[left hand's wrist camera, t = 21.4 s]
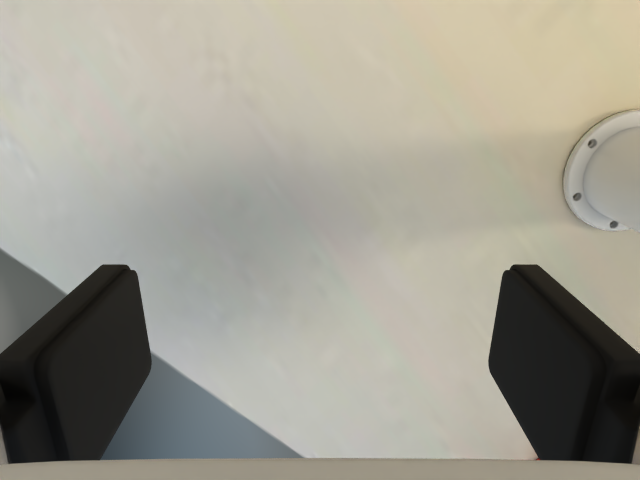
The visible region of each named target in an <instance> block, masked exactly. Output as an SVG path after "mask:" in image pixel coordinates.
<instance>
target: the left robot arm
mask: <svg viewBox="0 0 640 480" xmlns="http://www.w3.org/2000/svg"><path fill="white" fill-rule="evenodd" d="M588 142H589V144H588ZM563 188H564V194H565V198H566V201H567V203H568V205H569V207H570V209H571V210H572V212H573V213H574V214H575V215H576V216H577V217H578V218H579V219H581V220H582V221H583V222H585V223H587V224H589V225H591V226H592V227H595V228H598V229H601V230H606V231H624V230H629V229H632V230H634V231H636V232H638V233H640V109H639V110H628V111H625V112H621V113H617V114H615V115H613V116H610V117H608V118H606V119H604V120H603V121H601V122H600V123H598V124H597V125H595V126H594V127H593V128H591V129H590V130H589V131H588V132H587V133H586V134H585V135H584V136H583V137H582V138H581V140H580V141H579V142H578V143H577V145H576V146H575V148H574V150H573V151H572V153H571V155H570V157H569V159H568V162H567V165H566V167H565V172H564V178H563ZM574 194H575V195H574ZM488 362H489V370H490V373H491V375H492V377H493V378H494V380H495V382H496V384H497V385H498V387H499V389H500V391H501V392H502V394H503V396H504V398H505V399H506V401H507V403H508V405H509V406H510V408H511V410H512V412H513V413H514V415H515V417H516V419H517V420H518V422H519V424H520V426H521V427H522V429H523V431H524V433H525V434H526V436H527V438H528V440H529V441H530V443H531V445H532V447H533V449H534V450H535V452H536V454H537V456H538V457H539V459H540V460H497V459H371V458H273V459H272V458H271V459H270V458H269V459H144V460H100V459H101V457H102V456H103V454H104V452H105V450H106V448H107V447H108V445H109V443H110V441H111V440H112V438H113V436H114V434H115V433H116V431H117V429H118V427H119V426H120V424H121V422H122V420H123V419H124V417H125V415H126V413H127V412H128V410H129V408H130V406H131V405H132V403H133V401H134V399H135V398H136V396H137V394H138V392H139V391H140V389H141V387H142V385H143V384H144V382H145V380H146V378H147V377H148V375H149V373H150V370H151V353H150V347H149V341H148V335H147V329H146V323H145V317H144V311H143V305H142V299H141V293H140V287H139V281H138V276H137V273H136V271H135V270H130V268H129V266H127V265H102V266H100V267H99V268H98V269H97V270H96V271H94V272H93V273H92V274H91V275H90V276H89V277H88V278H87V279H85V280H84V281H83V282H82V283H81V284H80V285H79V286H77V287H76V288H75V289H74V290H73V291H72V292H71V293H69V294H68V295H67V296H66V297H65V298H64V299H63V300H61V301H60V302H59V303H58V304H57V305H56V306H55V307H53V308H52V309H51V310H50V311H49V312H48V313H47V314H45V315H44V316H43V317H42V318H41V319H40V320H39V321H37V322H36V323H35V324H34V325H33V326H32V327H31V328H29V329H28V330H27V331H26V332H25V333H24V334H23V335H21V336H20V337H19V338H18V339H17V340H16V341H15V342H13V343H12V344H11V345H10V346H9V347H8V348H7V349H6V350H4V351H3V352H2V353H1V354H0V480H640V354H639V353H638V352H637V351H636V350H635V349H633V348H632V347H631V346H630V345H629V344H628V343H627V342H625V341H624V340H623V339H622V338H621V337H620V336H619V335H617V334H616V333H615V332H614V331H613V330H612V329H611V328H609V327H608V326H607V325H606V324H605V323H604V322H603V321H601V320H600V319H599V318H598V317H597V316H596V315H595V314H593V313H592V312H591V311H590V310H589V309H588V308H587V307H585V306H584V305H583V304H582V303H581V302H580V301H579V300H577V299H576V298H575V297H574V296H573V295H572V294H571V293H569V292H568V291H567V290H566V289H565V288H564V287H563V286H561V285H560V284H559V283H558V282H557V281H556V280H555V279H553V278H552V277H551V276H550V275H549V274H548V273H547V272H546V271H544V270H543V269H542V268H541V267H540V266H538V265H513V266H511V268H510V270H505V271H504V273H503V276H502V281H501V287H500V293H499V299H498V305H497V311H496V317H495V323H494V329H493V335H492V341H491V347H490V353H489V361H488Z"/></svg>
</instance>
